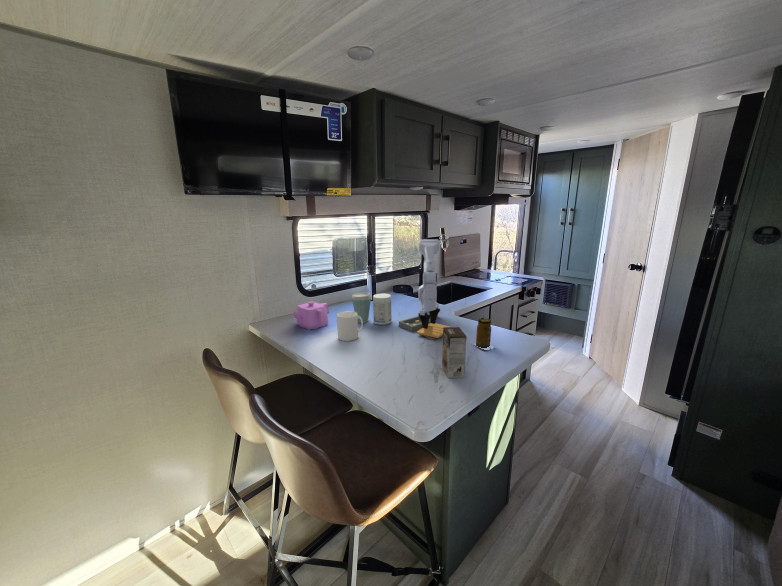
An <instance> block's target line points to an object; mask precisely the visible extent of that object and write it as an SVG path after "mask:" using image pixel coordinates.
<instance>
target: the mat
mask: <svg viewBox="0 0 782 586" xmlns="http://www.w3.org/2000/svg"><path fill="white" fill-rule="evenodd" d="M420 335H421V336H423V337H425V338H428V339H430V340H436V339H437V338H435V337H431V336H426V335H422V334H420ZM441 337H442V338H443V335H441V336H440V337H439V338H441Z"/></svg>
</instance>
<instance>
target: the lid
mask: <svg viewBox="0 0 782 586" xmlns="http://www.w3.org/2000/svg"><path fill="white" fill-rule="evenodd" d="M444 327H451V326H450V325H445V324H440V323H435V324H432V323H430V324H428V328H427V329H425V328H422V329H419V330H416V334H419V335H421V334H422V335H421V336H423V335H426V336H431V337H435V338H436V339H439V338H441V337H440V336H441V335H443V328H444ZM426 336H425V337H426Z"/></svg>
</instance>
